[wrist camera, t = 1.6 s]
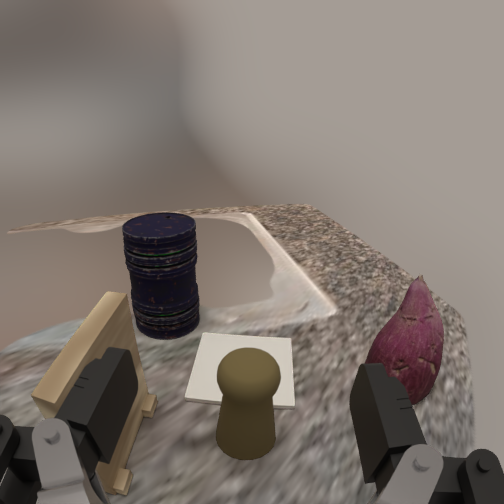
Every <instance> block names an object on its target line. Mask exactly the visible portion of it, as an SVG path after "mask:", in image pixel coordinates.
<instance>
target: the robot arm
mask: <svg viewBox="0 0 504 504" xmlns="http://www.w3.org/2000/svg"><path fill="white" fill-rule="evenodd" d="M137 392H138V378H137V374H136V370H135V366H134V363H133V359H132V355H131V352H130V350H128V349H122V348H115V347H108V348H107V349H106V351H105V353H104V354H103V356H102V358H101V359H98V358H95V359H94V360H92V361H91V362H90V363H89V364H87V365H86V366H85V367H84V369H83V370H82V372H81V374H80V375H79V379H78V378H77V380H76V382H75V383H74V387H72V388H71V390H70V392H69V393H68V395H67V397H66V398H65V400H64V402H63V404H62V405H61V407H60V409H59V410H58V412H57V414H56V416H55V417H54V418H48V419H45V420H42V421H41V422H39V423H38V424H37V425H36V426H35V427H20V426H14V425H13V423H12V422H11V421H10V419H9V418H8V417H6V416H4V415H0V482H1V480H2V478H3V475H4V473H5V471H6V469H7V467H8V470H7V472H6V474H5V477H4V479H3V481H2V483H1V486H0V504H36V501H37V498H38V501H39V504H111V503H110V501H109V499H108V497H107V494H106V492H105V490H104V487H103V485H102V482H101V480H100V477H99V475H98V472H97V470H96V467H97V464H98V462H99V461H100V462H103V463H107V464H110V461H111V459H112V456H113V453H114V451H115V448H116V446H117V443H118V440H119V438H120V435H121V433H122V430H123V428H124V425H125V423H126V420H127V418H128V415H129V413H130V410H131V408H132V405H133V403H134V401H135V398H136V396H137ZM412 407H413V406H412V404H411V401H410V400H409V396H408V394H407V391H406V389H405V386H404V385H403V384H402V383H401V382H400V381H399V380H398V379H397V378H396V377H388V375H387V372H386V370H385V367H384V365H383V364H382V363H370V364H361V365H360V367H359V369H358V372H357V375H356V379H355V382H354V385H353V388H352V391H351V394H350V411H351V416H352V420H353V425H354V430H355V435H356V440H357V444H358V449H359V455H360V460H361V465H362V470H363V476H364V481H365V484H366V483H373V482H375V483H376V488H377V490H376V491H375V493H374V494H373V496H372V497H371V499H370V501H369V502H368V504H504V473H503V470H502V468H501V465H500V463H499V460H498V458H497V456H496V455H495V454H494V453H493V452H491V451H489V450H486V449H477V450H475V451H473V452H472V453H470V454H469V456H468V457H467V458H454V457H444V456H441V454H440V453H439V451H438V450H437V449H435V448H434V447H432V446H429V445H427V443H426V441H425V438H424V436H423V433H422V430H421V427H420V425H419V422H418V419H417V417H416V414H415V411H414V409H412ZM41 488H42V489H41Z"/></svg>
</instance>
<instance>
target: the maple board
mask: <svg viewBox="0 0 504 504" xmlns="http://www.w3.org/2000/svg"><path fill="white" fill-rule="evenodd" d="M108 347H115V348H122V349H128V350H130V352H131V355H132V359H133V363H134V366H135V370H136V374H137V378H138V392H137V396H136V398H135V401H134V403H133V405H132V408H131V410H130V413H129V415H128V418H127V420H126V423H125V425H124V428H123V430H122V433H121V435H120V438H119V440H118V443H117V446H116V448H115V451H114V453H113V456H112V459H111V461H110V464H107V463H103V462H100V461H99V462H98V464H97V467H96V470H97V472H98V475H99V477H100V480H101V482H102V485H103V487H104V490H105V492H107V493H110V494H113V495H116V493H119V494H123V495H127V493H128V490H129V487H130V483H131V480H132V477H133V475H132V473H131V471H130V470H128V469H125V467H126V464H127V461H128V458H129V455H130V452H131V449H132V447H133V444H134V441H135V438H136V435H137V433H138V430H139V427H140V424H141V422H142V419H143V416H145V417H150V418H152V417H153V414H154V411H155V408H156V405H157V402H158V401H157V397H156V395H152V394H149V393H148V389H147V385H146V381H145V377H144V373H143V369H142V365H141V361H140V357H139V352H138V348H137V343H136V339H135V334H134V329H133V324H132V319H131V314H130V309H129V304H128V298H127V294H125V293H116V292H108V291H107V293H106V294H105V295H104V296H103V297H102V299H101V300H100V301H99V302H98V304H97V305H96V306H95V307H94V309H93V310H92V311H91V313H90V314H89V315H88V316H87V318H86V319H85V320H84V322H83V323H82V324H81V325H80V327H79V328H78V329H77V331H76V332H75V333H74V335H73V336H72V337H71V339H70V340H69V341H68V343H67V344H66V346H65V347H64V348H63V350H62V351H61V352H60V354H59V355H58V357H57V358H56V359H55V361H54V362H53V364H52V365H51V366H50V368H49V369H48V371H47V372H46V373H45V375H44V376H43V378H42V379H41V381H40V382H39V384H38V385H37V387H36V388H35V390H34V391H33V393H32V394H31V396H32V398H33V400H34V401H35V403H36V405H37V406H38V408H39V410H40V411H41V413H42V415H43V416H44V418H45V419H48V418H54V417H55V416H56V414H57V412H58V410H59V409H60V407H61V405H62V404H63V402H64V400H65V398H66V397H67V395H68V393H69V392H70V390H71V388H72V387H74V383H75V382H76V380H77V378H78V379H79V375H80V374H81V372H82V370H83V369H84V367H85V366H86V365H87V364H89V363H90V362H91V361H92V360H94V359H95V358H98V359H101V358H102V356H103V354H104V353H105V351H106V349H107V348H108Z"/></svg>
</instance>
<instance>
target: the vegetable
mask: <svg viewBox="0 0 504 504" xmlns="http://www.w3.org/2000/svg"><path fill="white" fill-rule="evenodd" d="M443 341H444V329H443V325H442V320H441V318H440V315H439V313H438V310H437V308H436V306H435V304H434V302H433V299H432V297H431V294H430V292H429V289H428V287H427V285H426V283H425V282H424V281H423V275H421V274H420V275H419V276H418V278H417V279H415V280H414V281H413V282H412V283H411V285H410V287H409V288H408V291H407V293H406V295H405V298H404V300H403V302H402V304H401V306H400V307H399V309H398V311H397V312H396V313H395V314H394V316H393V317H392V318H391V319H390V320H389V321H388V322H387V324H386V325H385V326H384V327H383V328H382V329H381V331H380V332H379V333H378V335H377V336H376V338H375V340H374V342H373V344H372V346H371V349H370V350H369V353H368V356H367V359H366V362H365V364H370V363H382V364H383V365H384V367H385V370H386V372H387V375H388V377H396V378H397V379H398V380H399V381H400V382H401V383H402V384H403V385H404V386H405V389H406V391H407V394H408V396H409V400H410V401H411V404H412V405H414V404H416V403H418V402H419V401H421V400H422V399H423V398H424V397H426V396H427V395H428V394H429V392H430V390H431V388H432V387H433V384H434V382H435V380H436V377H437V375H438V372H439V369H440V365H441V359H442V351H443Z"/></svg>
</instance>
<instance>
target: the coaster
mask: <svg viewBox="0 0 504 504" xmlns="http://www.w3.org/2000/svg"><path fill="white" fill-rule="evenodd" d="M244 347H248V348H257V349H261V350H263V351H266V352H268V353H269V354H270V355H271V356H273V357H274V359H275V360H276V362H277V363H278V365H279V367H280V373H281V381H280V384H279V387H278V390H277V392H276V393H275V394H274V396H273V408H277V409H294V407H295V400H294V381H293V364H292V348H291V338H276V337H258V336H243V335H229V334H217V333H206V332H203V334H202V338H201V341H200V345H199V348H198V352H197V355H196V359H195V362H194V366H193V369H192V373H191V376H190V380H189V383H188V387H187V390H186V394H185V401H192V402H200V403H209V404H219V405H221V402H222V396H223V394H222V393H221V391H220V388H219V386H218V383H217V369H218V365H219V364H220V362H221V360H222V359H223V358H224V357H225V356H226V355H227V354H228V353H229V352H231V351H233V350H236V349H239V348H244Z"/></svg>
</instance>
